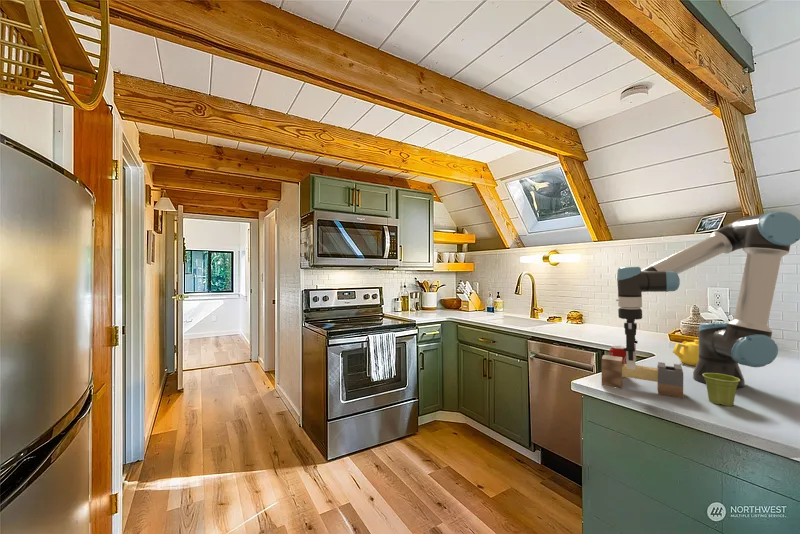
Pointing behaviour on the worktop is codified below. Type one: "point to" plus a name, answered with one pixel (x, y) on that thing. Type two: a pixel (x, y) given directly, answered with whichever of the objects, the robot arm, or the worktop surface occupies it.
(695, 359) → the teapot
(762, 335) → the robot arm
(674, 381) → the sleeve
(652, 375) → the rod
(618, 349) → the beverage can
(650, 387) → the worktop surface
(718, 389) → the plant pot
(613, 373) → the socket
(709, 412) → the worktop surface
